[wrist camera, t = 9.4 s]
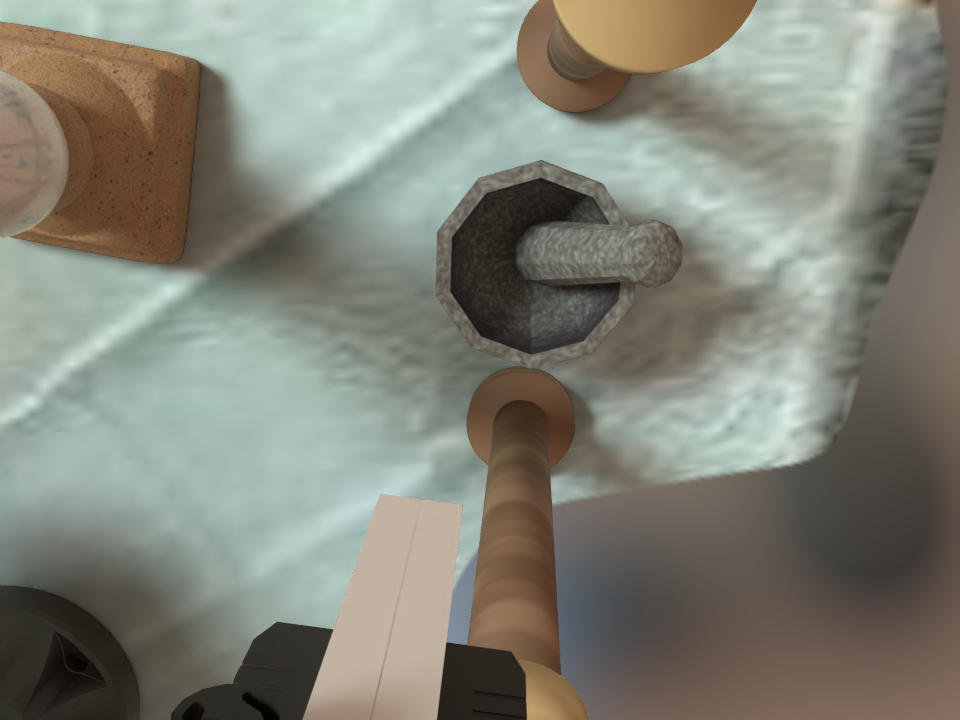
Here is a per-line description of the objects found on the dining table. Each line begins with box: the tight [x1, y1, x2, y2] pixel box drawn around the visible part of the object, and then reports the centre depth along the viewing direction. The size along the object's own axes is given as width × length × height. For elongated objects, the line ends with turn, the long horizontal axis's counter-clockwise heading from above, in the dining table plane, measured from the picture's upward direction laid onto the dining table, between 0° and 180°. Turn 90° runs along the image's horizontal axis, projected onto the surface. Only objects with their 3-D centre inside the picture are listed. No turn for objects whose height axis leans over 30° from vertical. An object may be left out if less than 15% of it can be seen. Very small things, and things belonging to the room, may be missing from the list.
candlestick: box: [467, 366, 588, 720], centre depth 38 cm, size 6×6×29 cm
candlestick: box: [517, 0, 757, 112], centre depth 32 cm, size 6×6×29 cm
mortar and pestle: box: [436, 160, 682, 369], centre depth 43 cm, size 11×9×12 cm
